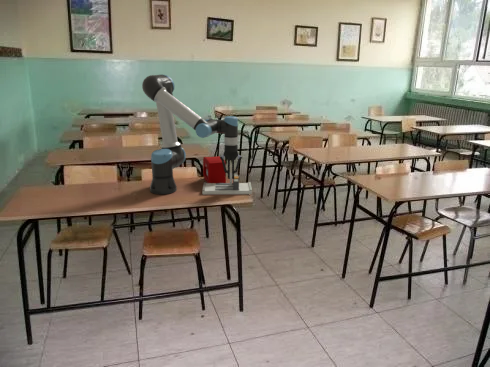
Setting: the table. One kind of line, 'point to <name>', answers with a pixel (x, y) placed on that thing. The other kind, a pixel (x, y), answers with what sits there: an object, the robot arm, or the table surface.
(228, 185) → the white slider panel
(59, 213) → the table surface
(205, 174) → the red rectangular box
